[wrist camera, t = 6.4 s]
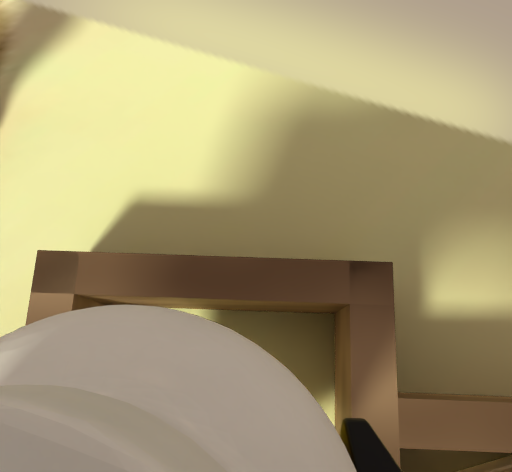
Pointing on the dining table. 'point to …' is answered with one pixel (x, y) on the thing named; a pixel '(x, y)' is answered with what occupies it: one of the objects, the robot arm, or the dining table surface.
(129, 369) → the supplement bottle
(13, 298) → the dining table surface
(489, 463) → the offcut stack
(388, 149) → the dining table surface
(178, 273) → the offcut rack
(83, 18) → the dining table surface
